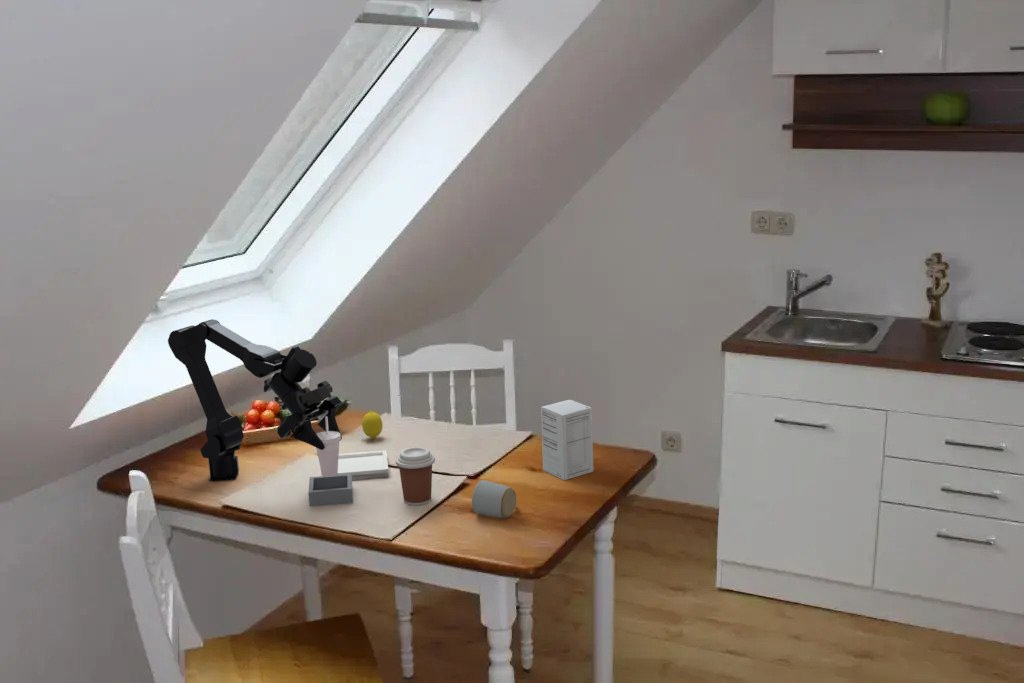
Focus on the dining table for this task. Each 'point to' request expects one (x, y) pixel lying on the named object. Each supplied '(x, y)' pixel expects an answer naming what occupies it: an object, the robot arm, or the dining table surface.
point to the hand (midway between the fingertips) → (332, 444)
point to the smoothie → (329, 451)
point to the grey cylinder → (493, 499)
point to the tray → (364, 464)
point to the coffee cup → (416, 475)
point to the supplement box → (567, 439)
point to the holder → (330, 490)
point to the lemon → (372, 424)
